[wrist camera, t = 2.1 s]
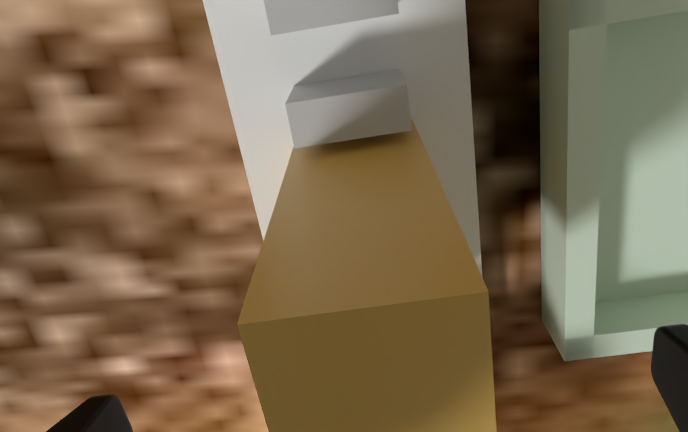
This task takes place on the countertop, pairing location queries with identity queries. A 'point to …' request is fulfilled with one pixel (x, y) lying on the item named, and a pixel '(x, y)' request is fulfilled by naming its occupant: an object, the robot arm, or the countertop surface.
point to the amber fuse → (368, 298)
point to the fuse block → (348, 86)
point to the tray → (613, 172)
